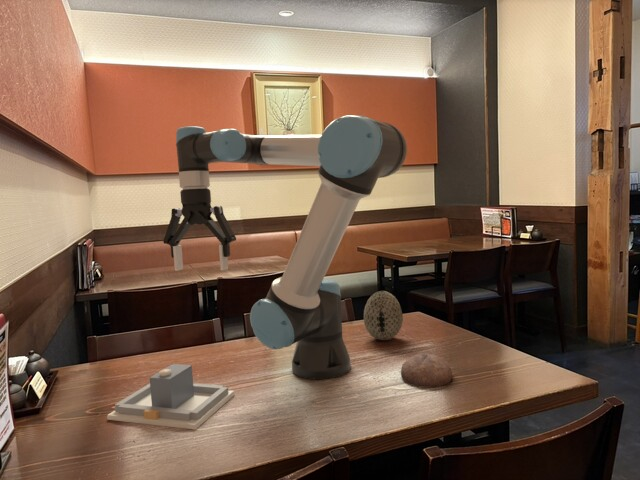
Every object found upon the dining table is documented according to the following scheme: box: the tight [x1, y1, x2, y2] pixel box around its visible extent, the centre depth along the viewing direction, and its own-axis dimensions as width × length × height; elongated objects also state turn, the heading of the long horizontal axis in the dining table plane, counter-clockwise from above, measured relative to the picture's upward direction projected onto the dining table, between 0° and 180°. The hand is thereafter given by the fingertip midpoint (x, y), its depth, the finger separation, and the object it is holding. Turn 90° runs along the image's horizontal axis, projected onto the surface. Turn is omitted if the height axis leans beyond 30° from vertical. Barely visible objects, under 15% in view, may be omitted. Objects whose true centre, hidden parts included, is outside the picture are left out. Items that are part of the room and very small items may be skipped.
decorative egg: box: [363, 290, 404, 341], centre depth 137 cm, size 12×12×15 cm
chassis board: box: [106, 382, 235, 431], centre depth 99 cm, size 21×16×2 cm
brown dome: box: [400, 353, 453, 388], centre depth 108 cm, size 12×12×6 cm
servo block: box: [149, 363, 194, 409], centre depth 99 cm, size 5×8×8 cm, turn 163°
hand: (201, 269), depth 119 cm, fingers open, 13 cm apart
